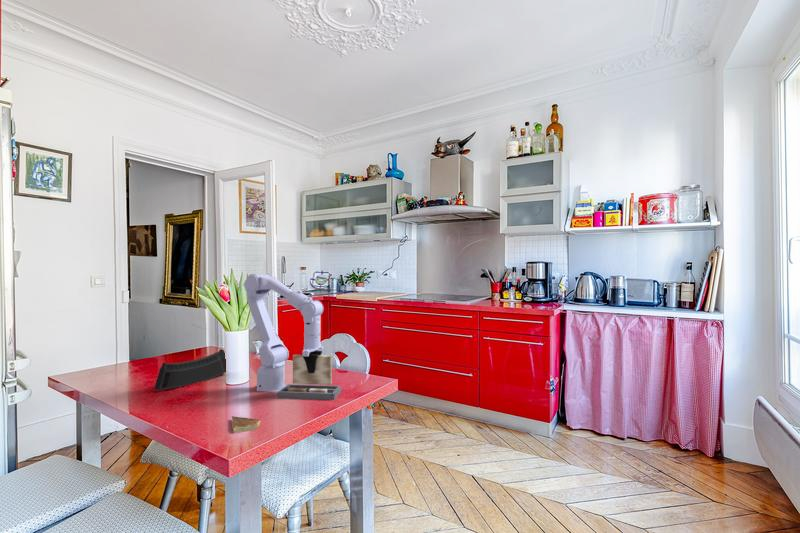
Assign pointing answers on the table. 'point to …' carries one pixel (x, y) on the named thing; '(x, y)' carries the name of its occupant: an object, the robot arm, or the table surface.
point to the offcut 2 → (318, 390)
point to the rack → (330, 395)
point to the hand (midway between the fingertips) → (312, 372)
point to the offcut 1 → (297, 389)
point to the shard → (244, 424)
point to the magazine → (191, 371)
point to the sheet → (319, 376)
